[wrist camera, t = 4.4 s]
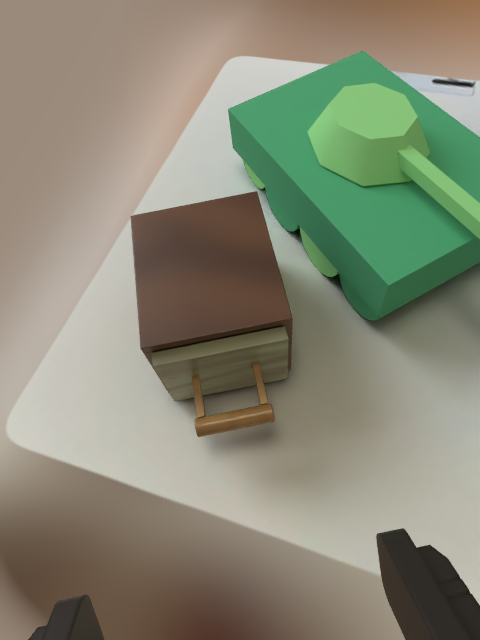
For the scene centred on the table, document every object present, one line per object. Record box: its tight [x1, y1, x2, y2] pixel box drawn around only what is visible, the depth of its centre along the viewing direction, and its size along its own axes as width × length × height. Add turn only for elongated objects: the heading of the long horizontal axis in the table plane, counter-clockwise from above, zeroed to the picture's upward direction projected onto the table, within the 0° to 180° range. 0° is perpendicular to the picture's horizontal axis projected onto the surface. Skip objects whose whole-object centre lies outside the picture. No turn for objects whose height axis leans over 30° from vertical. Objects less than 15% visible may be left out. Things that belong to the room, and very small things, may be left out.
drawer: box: [152, 326, 288, 437], centre depth 39 cm, size 17×10×8 cm, turn 10°
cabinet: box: [131, 192, 292, 393], centre depth 41 cm, size 14×12×10 cm
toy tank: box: [228, 51, 480, 321], centre depth 44 cm, size 18×12×35 cm
